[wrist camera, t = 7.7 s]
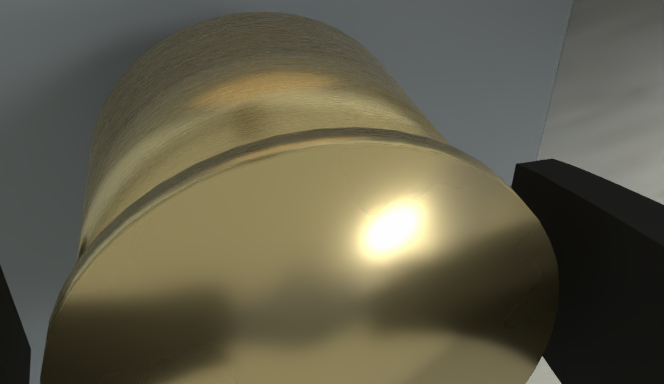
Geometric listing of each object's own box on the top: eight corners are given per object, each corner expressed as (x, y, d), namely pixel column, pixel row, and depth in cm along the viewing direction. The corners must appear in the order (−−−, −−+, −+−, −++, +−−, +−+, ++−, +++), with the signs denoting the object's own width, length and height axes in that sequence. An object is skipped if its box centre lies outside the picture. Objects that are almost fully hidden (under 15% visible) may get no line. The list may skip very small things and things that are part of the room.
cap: (436, -14, 10) (617, 116, 6) (405, 271, 13) (510, 466, 9) (34, 10, 8) (-43, 193, 5) (112, 320, 12) (101, 569, 8)
